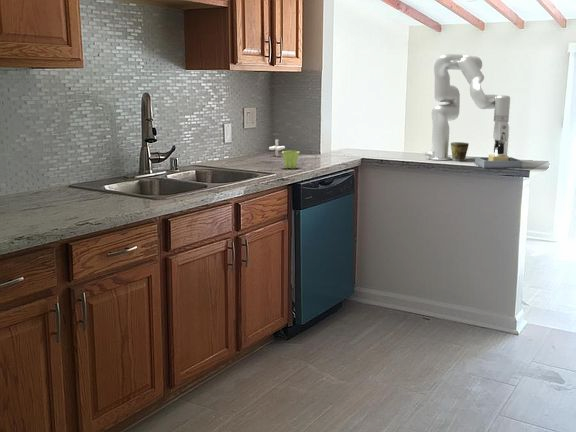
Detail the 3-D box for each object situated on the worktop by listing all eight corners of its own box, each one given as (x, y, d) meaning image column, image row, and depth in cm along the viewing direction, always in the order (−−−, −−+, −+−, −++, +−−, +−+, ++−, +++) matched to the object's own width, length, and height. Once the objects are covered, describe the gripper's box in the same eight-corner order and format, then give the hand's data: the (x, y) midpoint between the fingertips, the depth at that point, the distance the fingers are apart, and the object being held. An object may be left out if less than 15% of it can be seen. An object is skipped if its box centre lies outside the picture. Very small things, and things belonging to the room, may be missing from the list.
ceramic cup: (452, 158, 367) (453, 141, 365) (469, 160, 362) (470, 142, 360) (446, 161, 356) (447, 144, 354) (463, 162, 351) (464, 144, 349)
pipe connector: (266, 155, 383) (266, 139, 380) (280, 154, 387) (280, 138, 384) (272, 157, 374) (272, 140, 372) (287, 156, 378) (287, 140, 376)
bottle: (497, 163, 349) (501, 109, 342) (489, 161, 356) (493, 108, 350) (509, 162, 351) (513, 108, 344) (501, 160, 358) (505, 108, 352)
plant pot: (278, 167, 332) (278, 151, 330) (290, 166, 338) (290, 150, 336) (290, 169, 325) (290, 153, 323) (303, 167, 331) (303, 151, 330)
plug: (495, 164, 334) (496, 148, 332) (493, 164, 337) (494, 147, 336) (502, 164, 334) (503, 148, 332) (499, 164, 337) (500, 147, 336)
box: (483, 168, 328) (484, 157, 327) (474, 164, 344) (475, 153, 342) (521, 168, 328) (522, 157, 327) (510, 164, 344) (511, 153, 342)
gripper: (514, 120, 322) (511, 155, 326) (502, 118, 339) (500, 151, 343) (499, 120, 322) (496, 155, 326) (489, 118, 339) (486, 151, 343)
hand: (498, 152), depth 334 cm, fingers open, 4 cm apart
